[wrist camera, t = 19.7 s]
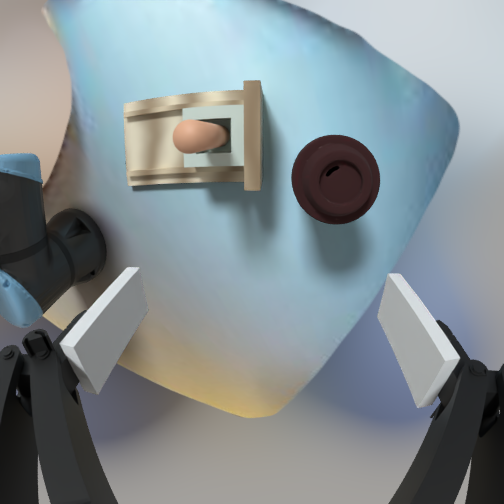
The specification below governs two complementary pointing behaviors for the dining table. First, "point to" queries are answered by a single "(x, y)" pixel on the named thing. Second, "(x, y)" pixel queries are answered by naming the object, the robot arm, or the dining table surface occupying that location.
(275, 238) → the dining table surface
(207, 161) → the block
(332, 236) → the dining table surface
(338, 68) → the dining table surface
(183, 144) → the dowel
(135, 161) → the board
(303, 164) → the coffee cup
